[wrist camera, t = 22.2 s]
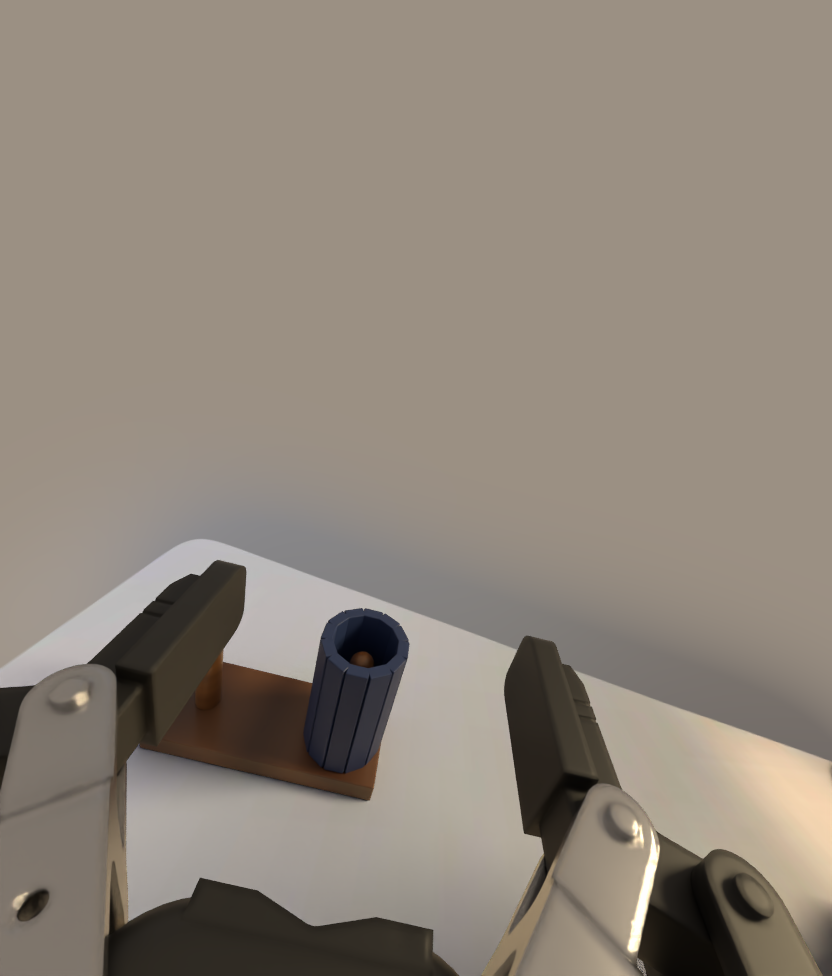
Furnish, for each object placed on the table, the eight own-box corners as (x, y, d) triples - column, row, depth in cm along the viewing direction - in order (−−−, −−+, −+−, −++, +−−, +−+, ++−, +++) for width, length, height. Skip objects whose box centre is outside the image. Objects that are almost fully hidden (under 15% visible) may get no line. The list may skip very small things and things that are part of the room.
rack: (384, 712, 35) (409, 629, 31) (369, 801, 28) (399, 711, 24) (196, 668, 34) (197, 578, 30) (139, 748, 28) (131, 647, 24)
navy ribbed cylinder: (385, 706, 34) (412, 619, 30) (373, 781, 28) (404, 687, 24) (317, 689, 34) (335, 600, 30) (292, 762, 28) (309, 664, 24)
